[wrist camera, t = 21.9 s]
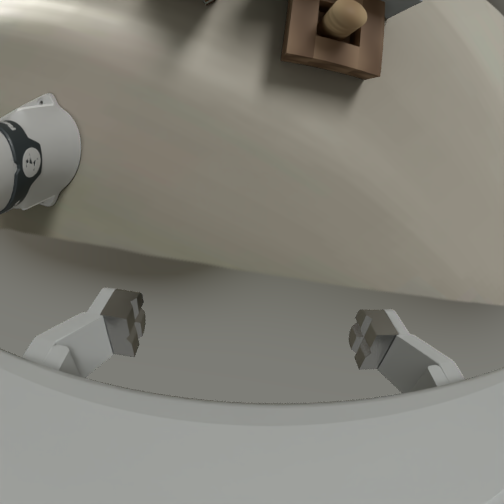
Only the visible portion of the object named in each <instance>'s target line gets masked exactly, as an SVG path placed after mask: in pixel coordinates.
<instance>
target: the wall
mask: <svg viewBox="0 0 504 504" xmlns="http://www.w3.org/2000/svg"><path fill="white" fill-rule="evenodd" d="M381 1H384V2H385V18H387V19H388V18H390V17H392V16H394V15H396V14H398V13H400V12H402V11H404V10H406V9H408V8H410V7H412V6H414V5H416V4H418V3H420V2H422V0H381Z"/></svg>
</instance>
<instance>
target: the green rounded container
mask: <svg viewBox="0 0 504 504" xmlns="http://www.w3.org/2000/svg"><path fill="white" fill-rule="evenodd" d="M214 1H215V0H203V2H204V3H205V5H206V6H207V5H209V4H210V3H212V2H214Z"/></svg>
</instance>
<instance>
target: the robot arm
mask: <svg viewBox="0 0 504 504" xmlns="http://www.w3.org/2000/svg"><path fill="white" fill-rule="evenodd" d="M42 101H43V104H42ZM80 156H81V140H80V134H79V131H78V128H77V125H76V123H75V121H74V120H73V118H72V117H71V116H70V114H69V113H68V112H66V111H65V110H64V109H62V108H61V107H60V106H59V105H58V103H57V100H56V98H55V97H54V95H53V94H51V93H48V94H44V95H42V96H40V97H38V98H36V99H34V100H32V101H30V102H28V103H26V104H24V105H23V106H21V107H19V108H17V109H15V110H13V111H12V112H10V113H8V114H7V115H5V116H3V117H2V118H0V214H2V213H5V212H8V211H9V210H11V209H13V208H16V209H18V208H21V209H22V210H27V209H29V208H31V207H33V206H35V205H37V204H40V205H44V206H48V207H49V206H52V205H54V204H55V202H56V200H57V198H58V195H59V193H60V191H61V190H62V189H63V188H64V187H66V186H67V185H68V184H69V182H70V181H71V180H72V178H73V177H74V175H75V173H76V171H77V168H78V165H79V161H80ZM143 303H144V301H143V295H142V293H140V292H133V291H127V290H121V289H114V288H107V287H105V288H102V290H101V291H100V293H99V294H98V296H97V297H96V299H95V300H94V302H93V303H92V305H91V306H90V308H89V309H88V311H87V313H86V312H82V313H80V314H78V315H76V316H74V317H73V318H70V319H68V320H66V321H64V322H62V323H61V324H59V325H57V326H55V327H53V328H51V329H49V330H47V331H45V332H43V333H41V334H39V335H37V336H36V337H35V338H34V339H33V341H32V342H31V344H30V345H29V347H28V349H27V350H26V352H25V353H24V355H23V356H22V357H20V356H17V355H15V354H12V353H10V352H7V351H5V350H2V349H0V504H504V367H503V368H500V369H497V370H494V371H491V372H488V373H485V374H482V375H479V376H475V377H472V378H468V379H465V378H464V377H463V375H462V373H461V372H460V370H459V368H458V367H457V365H456V364H455V362H454V361H453V360H452V359H450V358H449V357H447V356H446V355H444V354H443V353H441V352H439V351H438V350H436V349H435V348H433V347H432V346H430V345H429V344H427V343H426V342H424V341H422V340H421V339H420V338H418V337H416V336H415V335H413V334H409V332H408V330H407V329H406V327H405V326H404V324H403V323H402V321H401V319H400V318H399V316H398V315H397V313H396V312H395V311H394V310H393V309H382V310H359V311H358V313H357V315H356V317H355V318H356V320H357V323H355V324H354V325H353V326H352V327H351V330H350V333H349V344H350V347H351V349H352V350H353V351H354V352H355V353H356V355H355V360H356V363H357V365H358V368H359V370H360V369H378V371H379V372H380V373H381V374H382V375H384V376H385V377H386V378H387V379H388V380H389V381H390V382H391V383H392V384H393V385H394V386H395V387H396V388H397V389H398V390H399V391H400V392H401V394H395V395H388V396H382V397H374V398H366V399H358V400H346V401H334V402H318V403H284V404H283V403H241V402H225V401H224V402H223V401H213V400H202V399H193V398H184V397H177V396H169V395H163V394H156V393H150V392H144V391H139V390H134V389H129V388H124V387H119V386H114V385H111V384H106V383H102V382H98V381H94V380H90V379H87V378H86V377H87V376H88V375H89V374H91V373H92V372H93V371H94V370H96V368H98V367H99V366H100V365H102V364H103V363H104V362H105V361H106V360H108V359H109V358H110V357H111V356H113V354H118V355H124V356H130V357H135V355H136V352H137V349H138V346H139V340H138V338H140V337H142V336H143V333H144V329H145V312H144V310H143V309H142V308H141V307H142V305H143Z"/></svg>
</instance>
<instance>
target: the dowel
mask: <svg viewBox="0 0 504 504" xmlns="http://www.w3.org/2000/svg"><path fill="white" fill-rule="evenodd" d="M366 21H367V13H366V11H365V9H364V8H363V6H362V5H361V4H359V3H358V2H356V1H354V0H337V1H336V2H335V3H334V4H333V6H332V7H331V8H330V9H329V10H328V12H327V13H326V14H325V15H324V16H323V18H322V19H321V20H320V21H319V22H318V24H317V33H318V35H319V36H321V37H325V38H329V39H333V40H337V41H342V40H343V39H344V38H346V37H347V36H349V35H350V34H351V33H353V32H354V31H356V30H357V29H358V28H360V27H361V26H363V25H364V24H365V23H366Z"/></svg>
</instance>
